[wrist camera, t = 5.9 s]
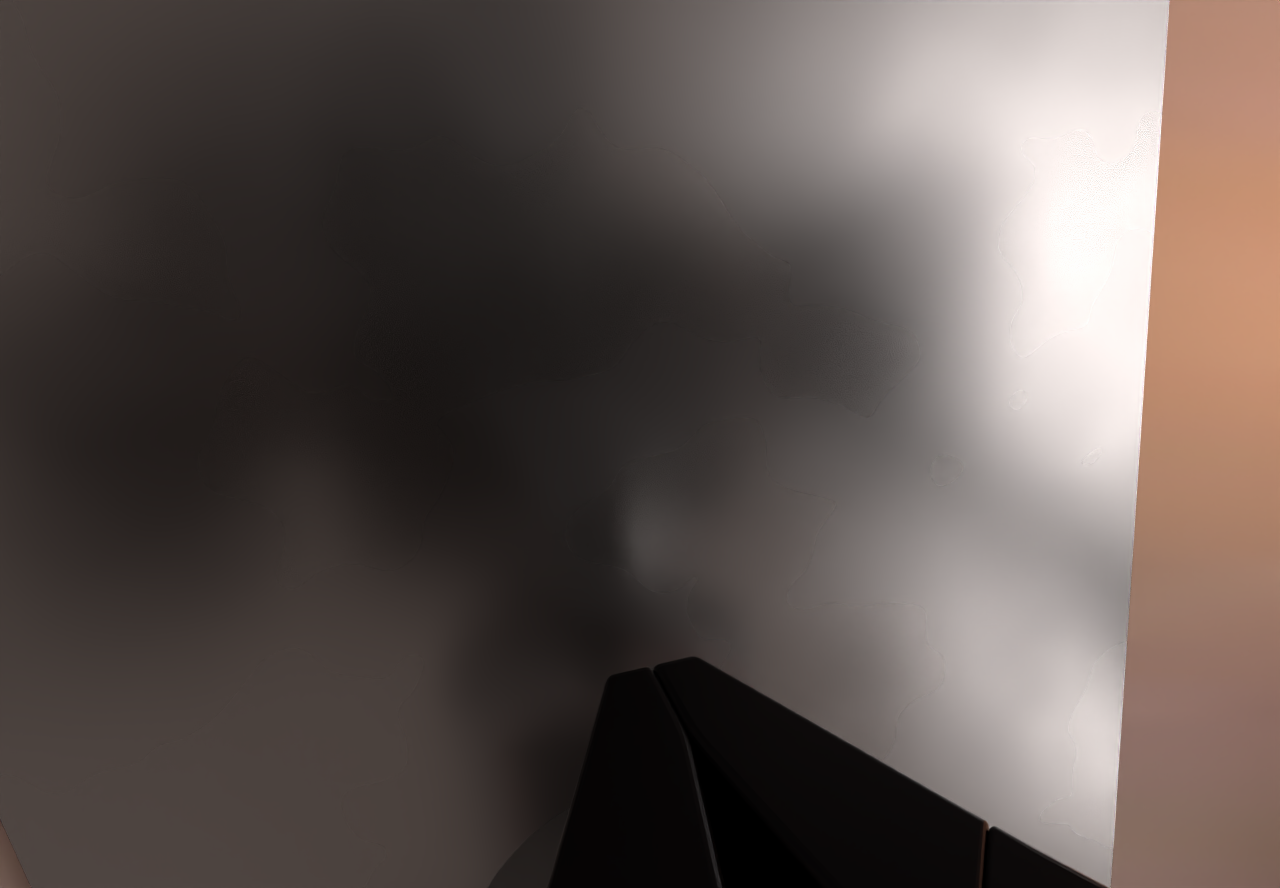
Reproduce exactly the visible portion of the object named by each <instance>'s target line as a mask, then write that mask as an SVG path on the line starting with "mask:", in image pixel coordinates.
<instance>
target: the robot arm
mask: <svg viewBox="0 0 1280 888" xmlns="http://www.w3.org/2000/svg"><path fill="white" fill-rule="evenodd" d="M547 888H1109V887H1107V886H1105V885H1103V884H1101V883H1099V882H1097V881H1095V880H1094V879H1092V878H1090V877H1088V876H1086V875H1084V874H1082V873H1080V872H1079V871H1077V870H1075V869H1073V868H1071V867H1069V866H1067V865H1066V864H1064V863H1062V862H1060V861H1058V860H1056V859H1054V858H1053V857H1051V856H1049V855H1047V854H1045V853H1043V852H1041V851H1040V850H1038V849H1036V848H1034V847H1032V846H1031V845H1029V844H1027V843H1025V842H1024V841H1022V840H1020V839H1018V838H1017V837H1015V836H1013V835H1011V834H1010V833H1008V832H1006V831H1004V830H1002V829H1001V828H999V827H997V826H992V827H991V828H990V829H989V825H988V823H987V821H986V820H984V819H982V818H981V817H979V816H977V815H975V814H974V813H972V812H970V811H968V810H967V809H965V808H963V807H961V806H960V805H958V804H956V803H954V802H953V801H951V800H949V799H947V798H945V797H944V796H942V795H940V794H938V793H937V792H935V791H933V790H931V789H930V788H928V787H926V786H924V785H923V784H921V783H919V782H917V781H916V780H914V779H912V778H910V777H909V776H907V775H905V774H903V773H902V772H900V771H898V770H896V769H895V768H893V767H891V766H889V765H887V764H886V763H884V762H882V761H880V760H879V759H877V758H875V757H873V756H872V755H870V754H868V753H866V752H865V751H863V750H861V749H859V748H858V747H856V746H854V745H852V744H851V743H849V742H847V741H845V740H844V739H842V738H840V737H838V736H836V735H835V734H833V733H831V732H829V731H828V730H826V729H824V728H822V727H821V726H819V725H817V724H815V723H814V722H812V721H810V720H808V719H807V718H805V717H803V716H801V715H800V714H798V713H796V712H794V711H793V710H791V709H789V708H787V707H785V706H784V705H782V704H780V703H778V702H777V701H775V700H773V699H771V698H770V697H768V696H766V695H764V694H763V693H761V692H759V691H757V690H756V689H754V688H752V687H750V686H749V685H747V684H745V683H743V682H742V681H740V680H738V679H736V678H735V677H733V676H731V675H729V674H727V673H726V672H724V671H722V670H720V669H719V668H717V667H715V666H713V665H712V664H710V663H708V662H706V661H705V660H703V659H701V658H699V657H695V656H691V657H686V658H682V659H678V660H674V661H669V662H665V663H661V664H658V665H656V666H655V667H654V669H653V670H652V669H651V668H649V667H643V668H639V669H635V670H630V671H626V672H622V673H617V674H613V675H610V676H609V677H608V679H607V681H606V683H605V686H604V690H603V693H602V697H601V700H600V704H599V707H598V711H597V714H596V718H595V721H594V725H593V728H592V732H591V735H590V739H589V742H588V746H587V749H586V753H585V756H584V760H583V763H582V767H581V770H580V774H579V777H578V781H577V784H576V788H575V791H574V795H573V798H572V801H571V805H570V808H569V812H568V815H567V819H566V822H565V826H564V829H563V833H562V836H561V840H560V843H559V847H558V850H557V854H556V857H555V861H554V864H553V868H552V871H551V875H550V878H549V882H548V885H547Z"/></svg>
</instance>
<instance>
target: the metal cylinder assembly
mask: <svg viewBox="0 0 1280 888" xmlns="http://www.w3.org/2000/svg"><path fill="white" fill-rule="evenodd" d="M1169 1H1170V0H0V820H1V822H2V824H3V827H4V829H5V831H6V833H7V835H8V838H9V840H10V842H11V844H12V846H13V848H14V851H15V853H16V855H17V857H18V859H19V862H20V864H21V866H22V868H23V870H24V873H25V875H26V877H27V879H28V881H29V884H30V886H31V888H488V886H489V885H490V883H491V882H492V880H493V879H494V877H495V875H496V874H497V872H498V871H499V870H500V869H501V868H502V866H503V865H504V864H505V863H506V861H507V860H508V859H509V858H510V857H511V855H512V854H513V853H514V852H515V851H516V850H517V849H518V848H519V847H520V846H521V845H522V844H523V843H524V842H525V841H526V840H527V839H528V838H529V837H530V836H531V835H533V834H534V833H535V832H536V831H538V830H539V829H540V828H541V827H543V826H544V825H545V824H547V823H548V822H549V821H550V820H552V819H553V818H555V817H556V816H558V815H559V814H561V813H563V812H564V811H566V810H567V809H569V808H570V805H571V801H572V798H573V795H574V791H575V788H576V784H577V781H578V777H579V774H580V770H581V767H582V763H583V760H584V756H585V753H586V749H587V746H588V742H589V739H590V735H591V732H592V728H593V725H594V721H595V718H596V714H597V711H598V707H599V704H600V700H601V697H602V693H603V690H604V686H605V683H606V681H607V679H608V677H609V676H610V675H613V674H617V673H622V672H626V671H630V670H635V669H639V668H643V667H649V668H651V669H652V670H653V669H654V667H655V666H656V665H658V664H661V663H665V662H669V661H674V660H678V659H682V658H686V657H691V656H695V657H699V658H701V659H703V660H705V661H706V662H708V663H710V664H712V665H713V666H715V667H717V668H719V669H720V670H722V671H724V672H726V673H727V674H729V675H731V676H733V677H735V678H736V679H738V680H740V681H742V682H743V683H745V684H747V685H749V686H750V687H752V688H754V689H756V690H757V691H759V692H761V693H763V694H764V695H766V696H768V697H770V698H771V699H773V700H775V701H777V702H778V703H780V704H782V705H784V706H785V707H787V708H789V709H791V710H793V711H794V712H796V713H798V714H800V715H801V716H803V717H805V718H807V719H808V720H810V721H812V722H814V723H815V724H817V725H819V726H821V727H822V728H824V729H826V730H828V731H829V732H831V733H833V734H835V735H836V736H838V737H840V738H842V739H844V740H845V741H847V742H849V743H851V744H852V745H854V746H856V747H858V748H859V749H861V750H863V751H865V752H866V753H868V754H870V755H872V756H873V757H875V758H877V759H879V760H880V761H882V762H884V763H886V764H887V765H889V766H891V767H893V768H895V769H896V770H898V771H900V772H902V773H903V774H905V775H907V776H909V777H910V778H912V779H914V780H916V781H917V782H919V783H921V784H923V785H924V786H926V787H928V788H930V789H931V790H933V791H935V792H937V793H938V794H940V795H942V796H944V797H945V798H947V799H949V800H951V801H953V802H954V803H956V804H958V805H960V806H961V807H963V808H965V809H967V810H968V811H970V812H972V813H974V814H975V815H977V816H979V817H981V818H982V819H984V820H986V821H987V823H988V825H989V829H990V828H991V827H992V826H997V827H999V828H1001V829H1002V830H1004V831H1006V832H1008V833H1010V834H1011V835H1013V836H1015V837H1017V838H1018V839H1020V840H1022V841H1024V842H1025V843H1027V844H1029V845H1031V846H1032V847H1034V848H1036V849H1038V850H1040V851H1041V852H1043V853H1045V854H1047V855H1049V856H1051V857H1053V858H1054V859H1056V860H1058V861H1060V862H1062V863H1064V864H1066V865H1067V866H1069V867H1071V868H1073V869H1075V870H1077V871H1079V872H1080V873H1082V874H1084V875H1086V876H1088V877H1090V878H1092V879H1094V880H1095V881H1097V882H1099V883H1101V884H1103V885H1105V886H1107V887H1109V888H1111V876H1112V860H1113V845H1114V830H1115V815H1116V800H1117V785H1118V770H1119V755H1120V740H1121V725H1122V710H1123V695H1124V680H1125V664H1126V649H1127V634H1128V619H1129V604H1130V589H1131V574H1132V559H1133V544H1134V529H1135V514H1136V499H1137V484H1138V468H1139V453H1140V438H1141V423H1142V408H1143V393H1144V378H1145V363H1146V348H1147V333H1148V318H1149V303H1150V288H1151V272H1152V257H1153V242H1154V227H1155V212H1156V197H1157V182H1158V167H1159V152H1160V137H1161V122H1162V107H1163V92H1164V76H1165V61H1166V46H1167V31H1168V16H1169Z"/></svg>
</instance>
